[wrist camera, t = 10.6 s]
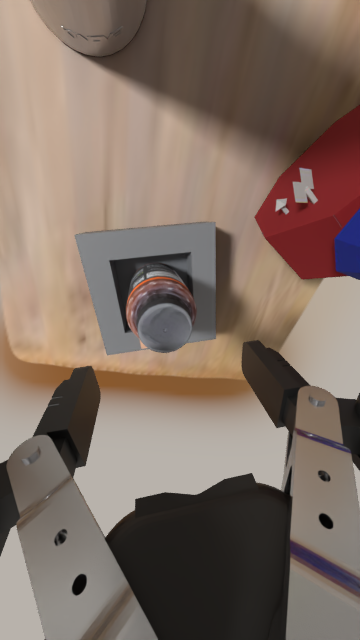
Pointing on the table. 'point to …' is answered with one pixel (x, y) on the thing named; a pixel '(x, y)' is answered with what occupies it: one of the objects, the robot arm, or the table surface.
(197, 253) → the socket holder
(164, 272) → the supplement bottle
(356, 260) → the alarm clock
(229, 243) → the table surface
